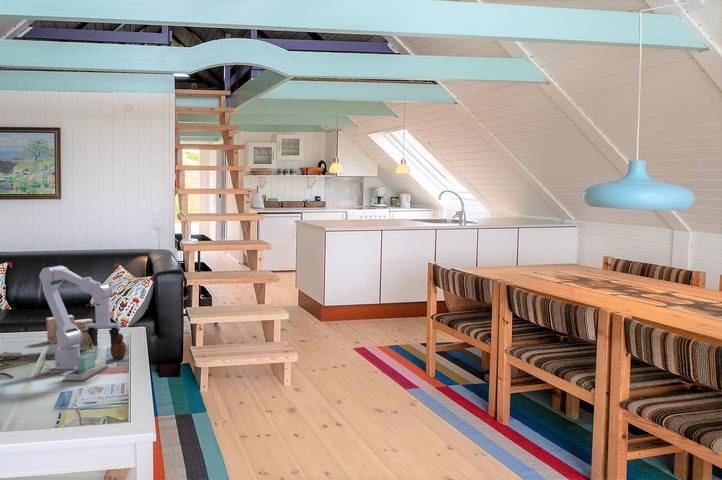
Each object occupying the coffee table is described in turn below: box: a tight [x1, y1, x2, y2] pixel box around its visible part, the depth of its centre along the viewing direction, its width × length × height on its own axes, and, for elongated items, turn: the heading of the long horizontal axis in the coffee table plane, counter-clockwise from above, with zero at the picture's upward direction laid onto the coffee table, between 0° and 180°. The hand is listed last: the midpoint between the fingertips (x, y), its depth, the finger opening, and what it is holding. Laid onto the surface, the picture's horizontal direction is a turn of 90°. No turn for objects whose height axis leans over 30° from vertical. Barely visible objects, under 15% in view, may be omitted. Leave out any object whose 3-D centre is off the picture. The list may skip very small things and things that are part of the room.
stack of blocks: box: [45, 314, 94, 343], centre depth 368 cm, size 21×6×12 cm, turn 122°
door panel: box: [77, 352, 96, 374], centre depth 299 cm, size 3×9×7 cm, turn 174°
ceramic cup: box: [78, 326, 99, 351], centre depth 346 cm, size 13×10×10 cm
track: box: [62, 361, 109, 383], centre depth 299 cm, size 9×22×3 cm, turn 175°
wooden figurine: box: [110, 332, 127, 360], centre depth 325 cm, size 7×6×15 cm
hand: (104, 345), depth 305 cm, fingers open, 7 cm apart
